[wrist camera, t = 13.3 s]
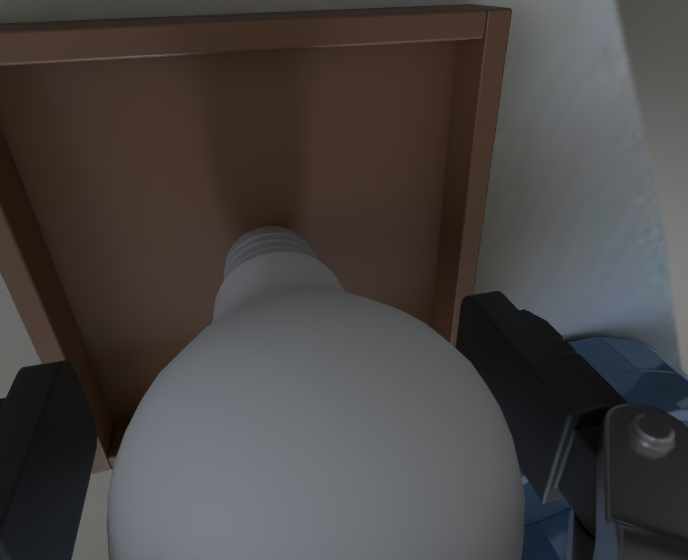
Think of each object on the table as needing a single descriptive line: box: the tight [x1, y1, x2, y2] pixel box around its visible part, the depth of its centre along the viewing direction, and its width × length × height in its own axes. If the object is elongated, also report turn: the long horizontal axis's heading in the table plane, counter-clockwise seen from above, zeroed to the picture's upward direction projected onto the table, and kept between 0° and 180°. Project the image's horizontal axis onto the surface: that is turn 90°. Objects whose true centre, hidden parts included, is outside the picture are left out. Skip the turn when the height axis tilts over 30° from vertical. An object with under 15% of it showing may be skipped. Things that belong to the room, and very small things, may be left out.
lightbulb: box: [107, 226, 525, 560], centre depth 10 cm, size 6×6×11 cm
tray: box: [0, 4, 512, 474], centre depth 14 cm, size 12×12×2 cm
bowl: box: [520, 337, 688, 560], centre depth 22 cm, size 14×14×4 cm
